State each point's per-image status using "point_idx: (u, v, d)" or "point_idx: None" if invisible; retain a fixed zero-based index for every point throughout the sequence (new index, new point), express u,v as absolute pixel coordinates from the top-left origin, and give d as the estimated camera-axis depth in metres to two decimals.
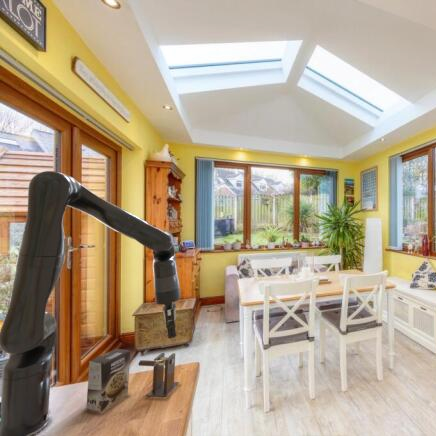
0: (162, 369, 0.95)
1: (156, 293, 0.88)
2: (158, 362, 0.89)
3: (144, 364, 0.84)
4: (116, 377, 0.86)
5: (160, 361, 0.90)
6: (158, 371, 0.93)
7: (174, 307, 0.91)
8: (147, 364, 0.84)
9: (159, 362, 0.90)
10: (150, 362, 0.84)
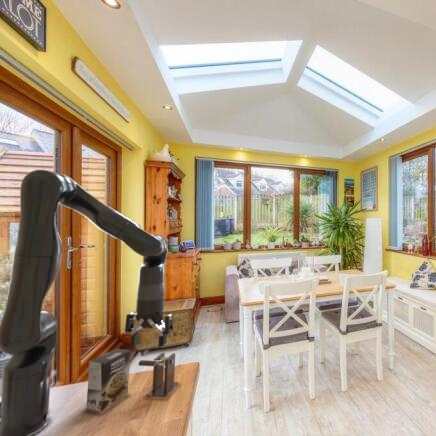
0: (162, 369, 0.95)
1: (149, 302, 0.82)
2: (158, 362, 0.89)
3: (144, 364, 0.84)
4: (116, 377, 0.86)
5: (160, 361, 0.90)
6: (158, 371, 0.93)
7: None
8: (147, 364, 0.84)
9: (159, 362, 0.90)
10: (150, 362, 0.84)
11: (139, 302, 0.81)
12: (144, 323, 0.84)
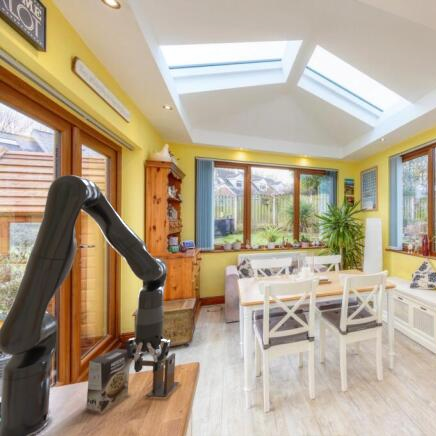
0: (162, 369, 0.95)
1: (148, 326, 0.81)
2: None
3: (144, 364, 0.84)
4: (116, 377, 0.86)
5: None
6: (158, 371, 0.93)
7: None
8: (147, 364, 0.84)
9: None
10: (150, 362, 0.84)
11: (138, 326, 0.81)
12: (143, 347, 0.84)
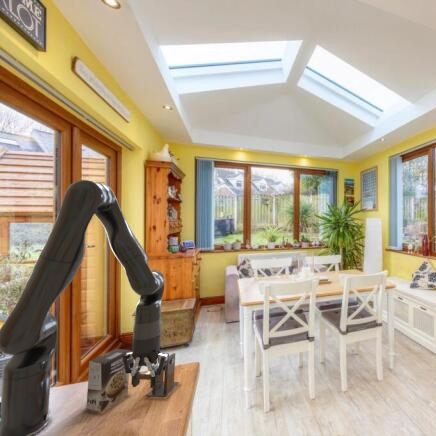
0: None
1: (145, 341, 0.81)
2: None
3: (141, 378, 0.83)
4: (116, 377, 0.86)
5: None
6: None
7: None
8: (144, 379, 0.83)
9: None
10: (147, 377, 0.83)
11: (135, 341, 0.80)
12: (140, 361, 0.83)
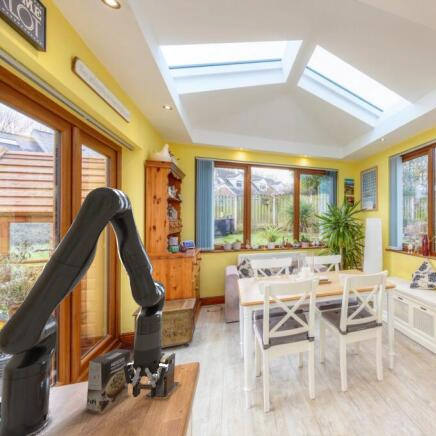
0: None
1: (146, 351, 0.81)
2: None
3: (142, 388, 0.84)
4: (116, 377, 0.86)
5: (159, 369, 0.90)
6: None
7: None
8: (145, 389, 0.84)
9: None
10: (147, 388, 0.83)
11: (136, 352, 0.81)
12: (141, 372, 0.83)
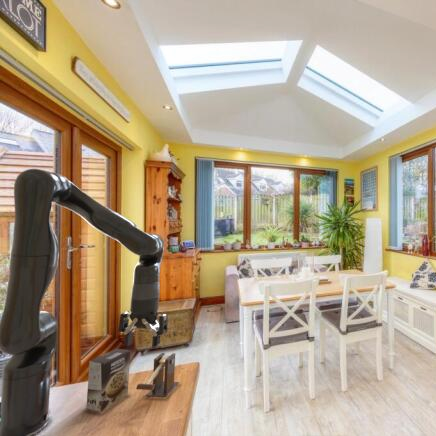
0: (162, 369, 0.95)
1: (143, 301, 0.81)
2: (157, 373, 0.89)
3: (142, 389, 0.84)
4: (116, 377, 0.86)
5: (159, 369, 0.90)
6: None
7: None
8: (145, 389, 0.84)
9: (158, 371, 0.90)
10: (147, 388, 0.83)
11: (133, 301, 0.80)
12: (138, 323, 0.83)
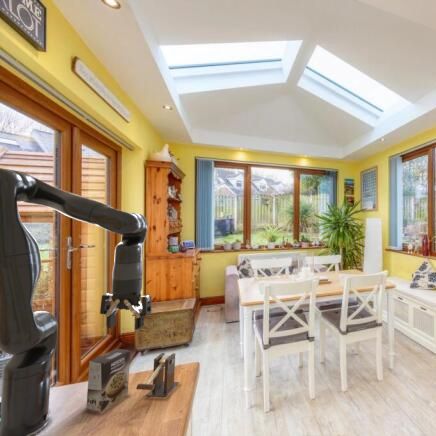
0: (162, 369, 0.95)
1: (125, 281, 0.78)
2: (157, 373, 0.89)
3: (142, 389, 0.84)
4: (116, 377, 0.86)
5: (159, 369, 0.90)
6: None
7: None
8: (145, 389, 0.84)
9: (158, 371, 0.90)
10: (147, 388, 0.83)
11: (114, 282, 0.77)
12: (120, 304, 0.80)
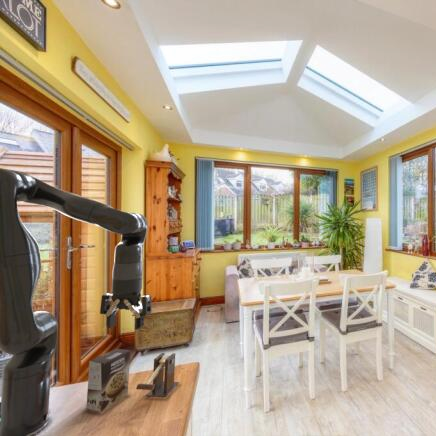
0: (162, 369, 0.95)
1: (125, 281, 0.78)
2: (157, 373, 0.89)
3: (142, 389, 0.84)
4: (116, 377, 0.86)
5: (159, 369, 0.90)
6: None
7: None
8: (145, 389, 0.84)
9: (158, 371, 0.90)
10: (147, 388, 0.83)
11: (114, 281, 0.77)
12: (120, 304, 0.80)
